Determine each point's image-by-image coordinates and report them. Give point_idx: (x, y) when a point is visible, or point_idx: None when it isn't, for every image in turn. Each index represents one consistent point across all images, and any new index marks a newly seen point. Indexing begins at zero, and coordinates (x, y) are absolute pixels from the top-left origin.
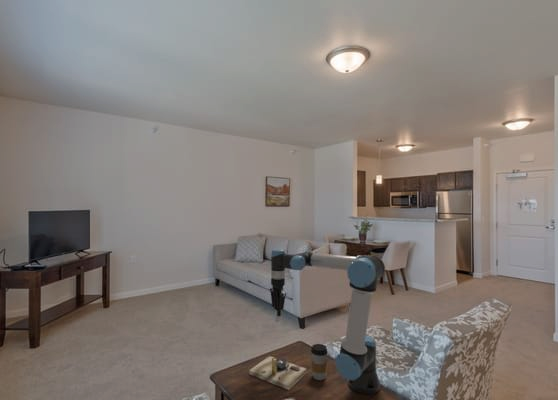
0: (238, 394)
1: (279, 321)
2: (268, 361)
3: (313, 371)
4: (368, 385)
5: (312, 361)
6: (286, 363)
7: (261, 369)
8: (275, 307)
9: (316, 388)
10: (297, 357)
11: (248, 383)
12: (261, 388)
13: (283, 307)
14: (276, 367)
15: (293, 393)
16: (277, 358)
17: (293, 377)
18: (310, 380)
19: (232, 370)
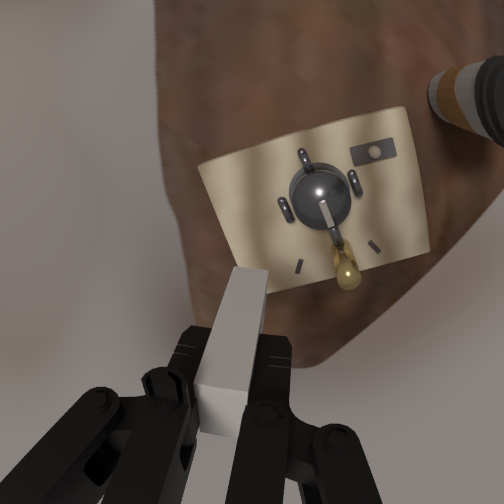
0: (322, 358)
1: (267, 281)
2: (239, 200)
3: (457, 126)
4: None
5: (474, 132)
6: (308, 144)
7: (275, 261)
8: (193, 451)
9: (481, 166)
10: (268, 41)
11: (298, 317)
12: (350, 303)
13: (365, 461)
14: (353, 254)
15: (443, 244)
16: (293, 198)
17: (410, 201)
18: (443, 141)
19: (196, 314)
